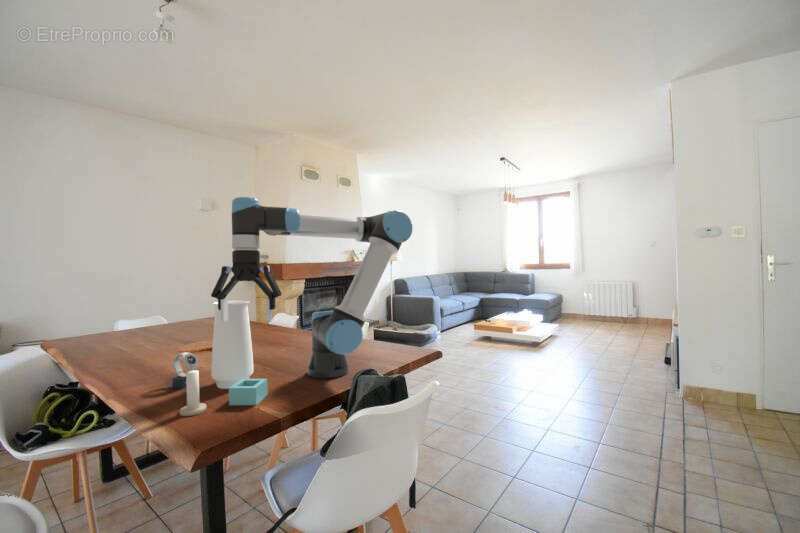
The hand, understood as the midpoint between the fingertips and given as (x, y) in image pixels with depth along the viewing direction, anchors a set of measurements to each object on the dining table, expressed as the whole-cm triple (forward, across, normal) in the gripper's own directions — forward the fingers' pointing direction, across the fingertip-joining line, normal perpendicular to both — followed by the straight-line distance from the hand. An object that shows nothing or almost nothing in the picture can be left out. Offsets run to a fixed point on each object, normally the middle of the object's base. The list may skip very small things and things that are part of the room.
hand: (247, 320), depth 104 cm
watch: (+24, +28, -13) cm, 39 cm away
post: (+24, +12, +8) cm, 28 cm away
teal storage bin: (+24, 0, 0) cm, 24 cm away
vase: (+24, +12, -14) cm, 30 cm away
